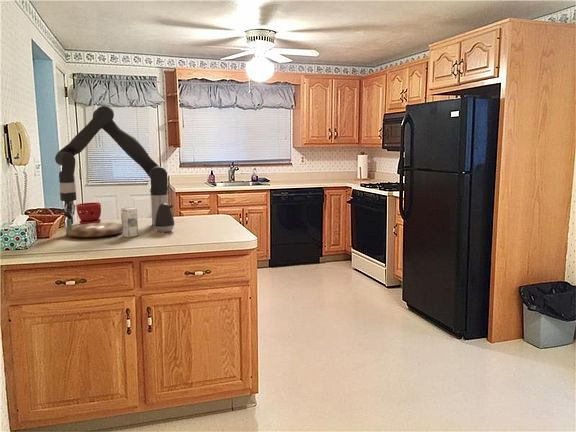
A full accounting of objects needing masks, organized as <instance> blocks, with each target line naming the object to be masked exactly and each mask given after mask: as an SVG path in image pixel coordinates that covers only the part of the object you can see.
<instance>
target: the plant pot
mask: <svg viewBox="0 0 576 432" xmlns="http://www.w3.org/2000/svg"><path fill="white" fill-rule="evenodd" d="M75 209H76V212H77V217H78V219H79V225H82V224H90V223H102V220H101V219H100V218H101V215H102V204H101V202H83V203H77V204H75Z"/></svg>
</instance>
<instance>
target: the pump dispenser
mask: <svg viewBox="0 0 576 432" xmlns="http://www.w3.org/2000/svg"><path fill="white" fill-rule="evenodd" d="M172 208H174V205H173V204H171V205H167V204H165V203H163V204H160V205H159V207H158V209H157V212H156V216H155V225H154V226H155V229H156V230H157V231H158V232H159V233H169V232H171V231H172V230H173V229H174V227H175V217H174V214H173V212H172Z"/></svg>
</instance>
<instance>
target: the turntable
mask: <svg viewBox="0 0 576 432" xmlns="http://www.w3.org/2000/svg"><path fill="white" fill-rule="evenodd" d="M121 233H122V223H117V222H100V223H90V224H77V225H73V224H71V219H68V218H67V219H66V229H65V235H67V236H69V237H76V238H94V237H95V238H97V237H105V236H111V235H116V234H121Z"/></svg>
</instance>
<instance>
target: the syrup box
mask: <svg viewBox="0 0 576 432" xmlns="http://www.w3.org/2000/svg"><path fill="white" fill-rule="evenodd" d="M120 216H121V224H122V232H121V234H122V235H121V236H122V237H124V238H134V237H138V236H139V225H138V209H137V208H136V207H133V206H132V207H131V206H130V207H123V208H120Z"/></svg>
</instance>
